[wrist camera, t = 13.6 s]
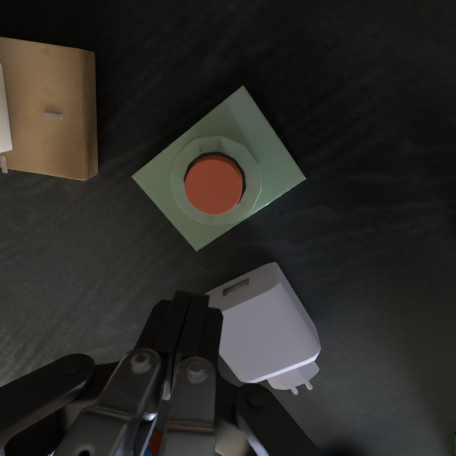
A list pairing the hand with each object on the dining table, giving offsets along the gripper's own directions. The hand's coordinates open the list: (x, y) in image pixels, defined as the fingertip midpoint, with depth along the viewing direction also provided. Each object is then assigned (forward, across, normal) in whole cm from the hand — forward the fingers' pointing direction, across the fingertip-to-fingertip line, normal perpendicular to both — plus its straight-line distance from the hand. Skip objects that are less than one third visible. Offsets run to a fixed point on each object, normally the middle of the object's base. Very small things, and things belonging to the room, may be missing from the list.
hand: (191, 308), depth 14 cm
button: (+14, +1, -2) cm, 14 cm away
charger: (+17, -7, +14) cm, 24 cm away
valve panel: (+17, +19, -5) cm, 26 cm away
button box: (+17, +1, -2) cm, 17 cm away
